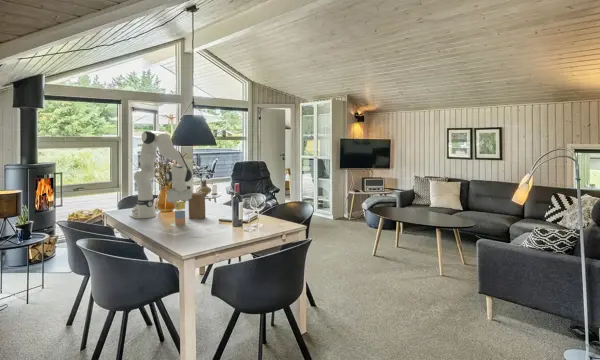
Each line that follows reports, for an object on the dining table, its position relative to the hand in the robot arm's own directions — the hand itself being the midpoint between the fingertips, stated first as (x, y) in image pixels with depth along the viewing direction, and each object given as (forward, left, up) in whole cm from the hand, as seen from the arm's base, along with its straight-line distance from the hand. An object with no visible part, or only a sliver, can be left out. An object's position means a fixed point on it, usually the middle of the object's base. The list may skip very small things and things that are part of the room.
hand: (179, 206), depth 271 cm
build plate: (0, 0, -14) cm, 14 cm away
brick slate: (0, 0, -8) cm, 8 cm away
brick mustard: (0, 0, -2) cm, 2 cm away
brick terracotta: (0, 0, -13) cm, 13 cm away
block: (-9, +24, -14) cm, 29 cm away
